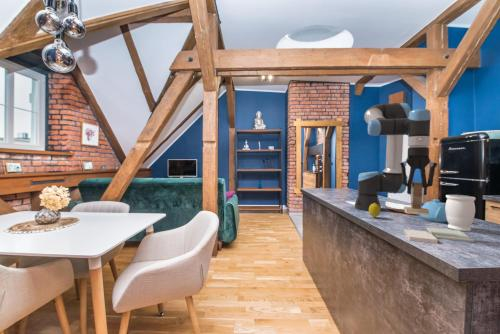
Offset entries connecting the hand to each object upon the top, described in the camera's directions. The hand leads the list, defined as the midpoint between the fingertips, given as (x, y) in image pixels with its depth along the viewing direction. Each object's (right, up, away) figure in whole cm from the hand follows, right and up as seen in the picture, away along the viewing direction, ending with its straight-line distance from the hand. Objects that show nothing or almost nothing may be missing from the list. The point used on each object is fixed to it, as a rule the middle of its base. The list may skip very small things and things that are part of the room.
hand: (416, 202), depth 106 cm
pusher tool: (0, -5, 0) cm, 5 cm away
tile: (-1, -13, -1) cm, 13 cm away
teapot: (+26, -13, +24) cm, 38 cm away
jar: (+24, -13, +7) cm, 29 cm away
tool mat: (+12, -13, -3) cm, 18 cm away
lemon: (-4, -12, +28) cm, 31 cm away
